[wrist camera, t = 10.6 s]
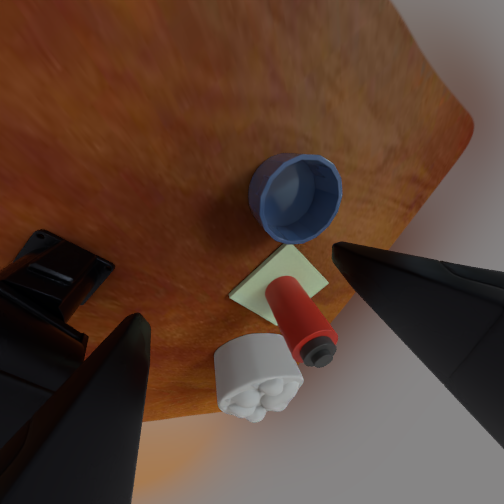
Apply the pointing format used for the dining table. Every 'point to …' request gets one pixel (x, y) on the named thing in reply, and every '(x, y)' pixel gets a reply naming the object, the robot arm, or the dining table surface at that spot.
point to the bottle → (301, 322)
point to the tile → (275, 266)
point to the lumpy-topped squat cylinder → (255, 375)
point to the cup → (295, 196)
